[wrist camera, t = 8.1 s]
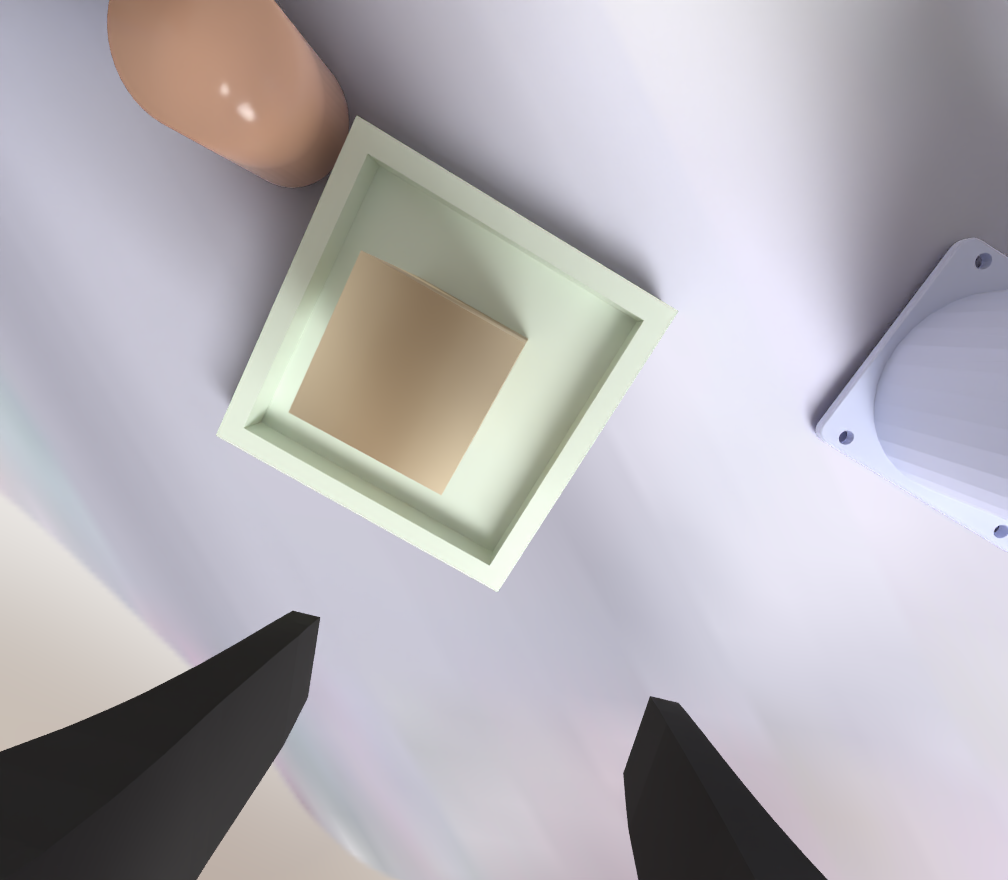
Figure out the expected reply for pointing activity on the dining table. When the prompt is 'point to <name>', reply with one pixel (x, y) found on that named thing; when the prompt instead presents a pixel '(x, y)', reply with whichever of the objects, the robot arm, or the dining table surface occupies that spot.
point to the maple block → (405, 372)
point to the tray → (491, 290)
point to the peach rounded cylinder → (233, 83)
